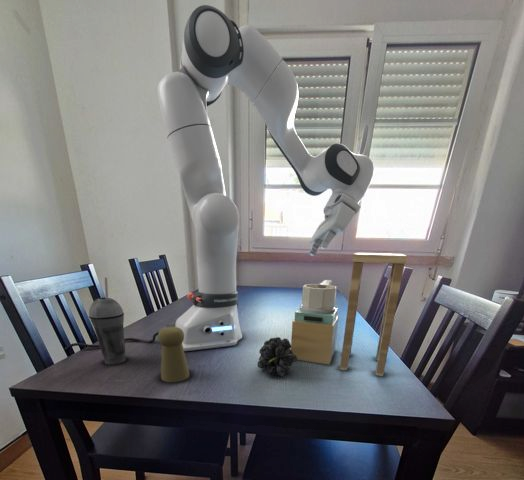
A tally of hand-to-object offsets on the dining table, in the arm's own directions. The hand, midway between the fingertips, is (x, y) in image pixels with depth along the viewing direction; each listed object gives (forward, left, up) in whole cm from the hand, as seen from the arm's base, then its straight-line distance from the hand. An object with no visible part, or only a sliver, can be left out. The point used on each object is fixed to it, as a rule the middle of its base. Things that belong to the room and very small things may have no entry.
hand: (316, 251), depth 86 cm
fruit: (-27, -18, -26) cm, 41 cm away
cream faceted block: (-9, -13, -13) cm, 20 cm away
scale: (-13, -16, -26) cm, 33 cm away
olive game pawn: (-49, -10, -26) cm, 56 cm away
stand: (-7, -27, -26) cm, 38 cm away
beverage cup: (-59, +6, -26) cm, 64 cm away
